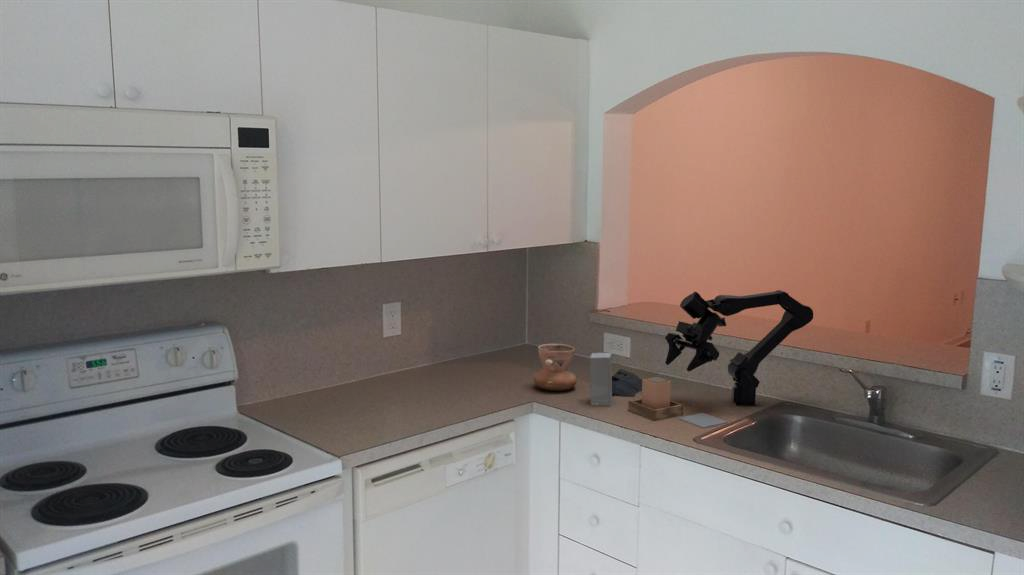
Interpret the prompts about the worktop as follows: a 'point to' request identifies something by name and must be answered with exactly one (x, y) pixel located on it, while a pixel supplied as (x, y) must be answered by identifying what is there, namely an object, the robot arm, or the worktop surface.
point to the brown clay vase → (555, 367)
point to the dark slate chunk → (626, 384)
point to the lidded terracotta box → (656, 393)
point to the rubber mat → (703, 420)
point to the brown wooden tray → (656, 414)
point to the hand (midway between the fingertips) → (676, 367)
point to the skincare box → (601, 379)
